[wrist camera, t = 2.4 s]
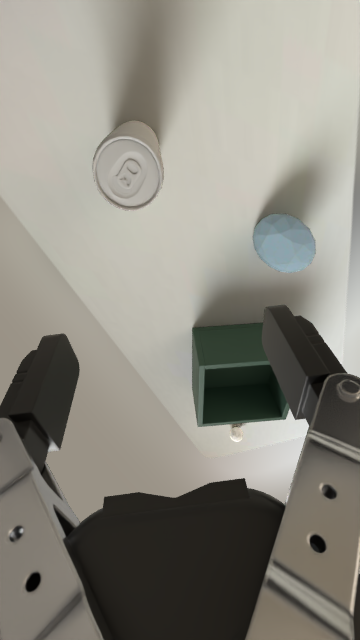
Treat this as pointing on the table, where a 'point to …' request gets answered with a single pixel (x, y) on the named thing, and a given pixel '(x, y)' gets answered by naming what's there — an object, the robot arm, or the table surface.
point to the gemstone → (284, 243)
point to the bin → (234, 377)
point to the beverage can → (129, 166)
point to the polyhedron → (236, 434)
